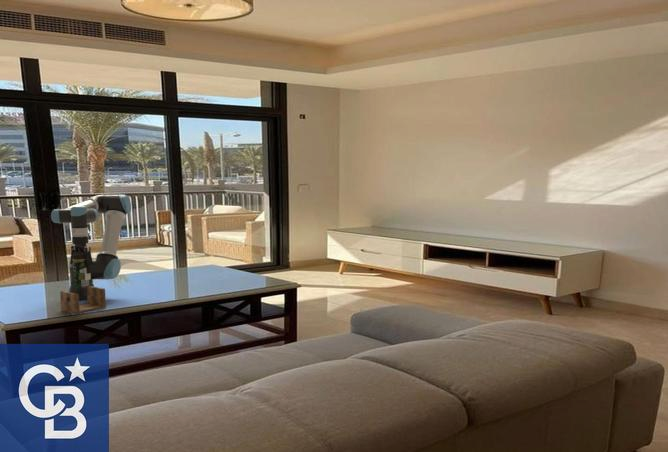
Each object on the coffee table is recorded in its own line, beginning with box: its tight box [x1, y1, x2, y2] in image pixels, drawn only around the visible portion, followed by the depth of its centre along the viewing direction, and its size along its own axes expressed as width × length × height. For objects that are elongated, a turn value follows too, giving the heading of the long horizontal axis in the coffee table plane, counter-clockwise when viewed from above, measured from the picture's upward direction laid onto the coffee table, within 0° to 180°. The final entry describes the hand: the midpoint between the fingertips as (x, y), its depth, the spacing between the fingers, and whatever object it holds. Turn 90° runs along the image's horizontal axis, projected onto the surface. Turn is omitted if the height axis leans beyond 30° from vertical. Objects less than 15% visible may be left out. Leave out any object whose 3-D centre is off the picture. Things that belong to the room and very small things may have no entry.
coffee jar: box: [72, 252, 91, 288], centre depth 264 cm, size 10×8×19 cm
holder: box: [59, 286, 107, 315], centre depth 266 cm, size 14×18×10 cm
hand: (82, 278), depth 265 cm, fingers closed on coffee jar, 9 cm apart
